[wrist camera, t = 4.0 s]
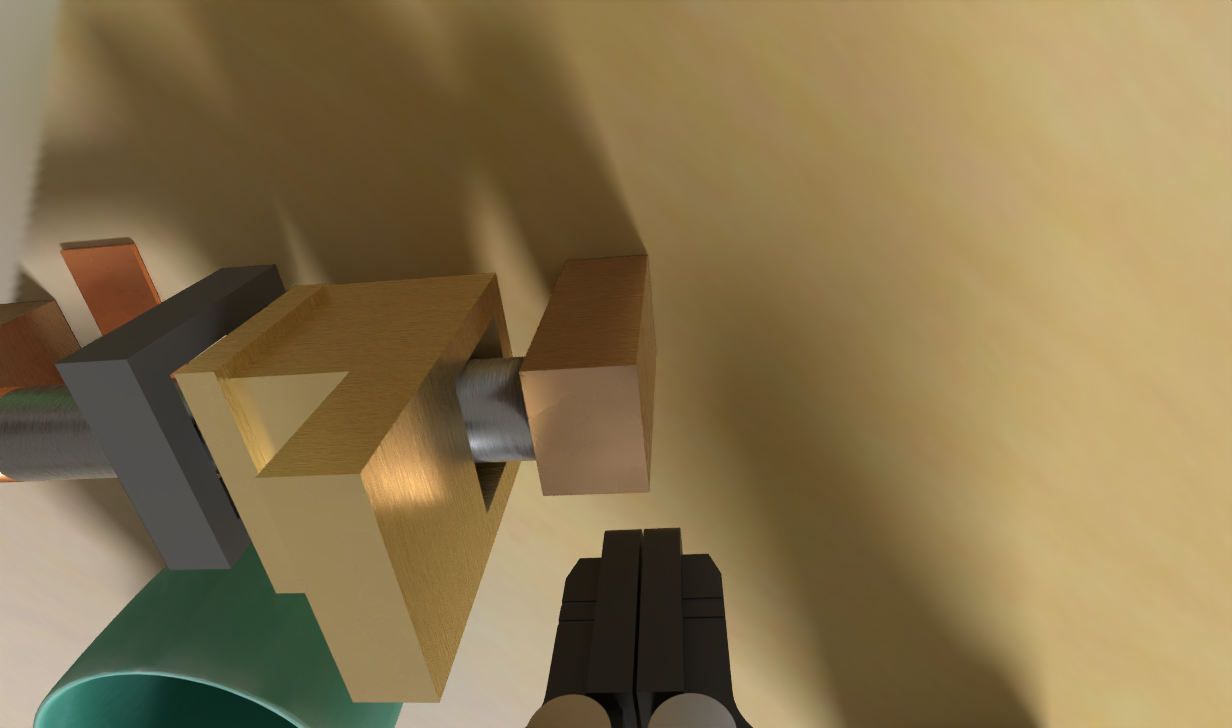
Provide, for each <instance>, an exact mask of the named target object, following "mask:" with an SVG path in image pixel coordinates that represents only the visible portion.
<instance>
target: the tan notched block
mask: <svg viewBox="0 0 1232 728" xmlns="http://www.w3.org/2000/svg"><path fill="white" fill-rule="evenodd" d="M510 357H513V356H512V351H511V345H510V340H509V335H508V330H507V325H506V320H505V315H504V310H503V305H502V300H501V295H500V290H499V285H498V280H497V275H496V273H483V274H470V275H457V276H443V277H430V278H417V279H403V280H390V281H377V282H364V283H350V284H337V285H326V284H313V285H300V286H294V287H293V288H291V289H290V290H289V291H287V292H286V293H285V294H283V295H282V296H280V297H279V298H278V299H276V300H275V301H274V302H272V303H271V304H269V305H268V306H267V307H265V308H264V309H263V310H261V311H260V312H258V313H257V314H256V315H254V316H253V317H252V318H250V319H249V320H247V321H246V322H245V323H243V324H242V325H241V326H239V327H238V328H237V329H235V330H234V331H232V332H231V333H230V334H228V335H227V336H226V337H224V338H223V339H221V340H220V341H219V342H217V343H216V344H215V345H213V346H212V347H210V348H209V349H208V350H206V351H205V352H204V353H202V354H201V355H199V356H198V357H197V358H195V359H194V360H193V361H191V362H190V363H189V364H187V365H186V366H184V367H183V368H182V369H180V370H179V371H178V372H176V373H175V374H174V376H175V378H176V380H177V382H178V384H179V387H180V389H181V391H182V393H183V395H184V397H185V399H186V401H187V404H188V406H189V408H190V410H191V412H192V414H193V416H194V419H195V421H196V423H197V425H198V427H199V429H200V431H201V434H202V436H203V438H204V440H205V442H206V444H207V446H208V449H209V451H210V453H211V455H212V457H213V459H214V461H215V463H216V466H217V468H218V470H219V472H220V474H221V476H222V478H223V481H224V483H225V485H226V487H227V489H228V491H229V493H230V496H231V498H232V500H233V502H234V504H235V506H236V508H237V510H238V513H239V515H240V517H241V519H242V521H243V523H244V525H245V528H246V530H247V532H248V534H249V536H250V538H251V540H252V543H253V545H254V547H255V549H256V551H257V553H258V555H259V558H260V560H261V562H262V564H263V566H264V568H265V570H266V572H267V575H268V577H269V579H270V581H271V583H272V585H273V587H274V590H275V592H276V594H277V593H305V594H306V597H307V599H308V601H309V603H310V606H311V608H312V610H313V612H314V615H315V617H316V619H317V622H318V624H319V626H320V628H321V631H322V633H323V635H324V637H325V640H326V642H327V644H328V646H329V649H330V651H331V653H332V656H333V658H334V660H335V662H336V665H337V667H338V669H339V671H340V674H341V676H342V678H343V681H344V683H345V685H346V687H347V690H348V692H349V694H350V696H351V699H352V701H353V702H418V703H440V700H441V697H442V694H443V691H444V688H445V685H446V682H447V679H448V676H449V673H450V670H451V667H452V665H453V662H454V659H455V656H456V653H457V650H458V647H459V644H460V641H461V638H462V635H463V632H464V629H465V626H466V623H467V620H468V617H469V614H470V611H471V608H472V605H473V602H474V599H475V596H476V594H477V591H478V588H479V585H480V582H481V579H482V576H483V573H484V570H485V567H486V564H487V561H488V558H489V555H490V552H491V549H492V546H493V543H494V540H495V537H496V534H497V531H498V528H499V525H500V522H501V520H502V517H503V514H504V511H505V508H506V505H507V502H508V499H509V496H510V493H511V490H512V487H513V484H514V481H515V478H516V475H517V472H518V469H519V466H520V463H521V461H510V462H485V463H474V459H473V455H472V451H471V447H470V443H469V439H468V435H467V431H466V427H465V423H464V419H463V415H462V411H461V407H460V403H459V399H458V395H457V391H456V387H455V381H456V380H457V378H458V376H459V375H460V373H461V371H462V369H463V368H464V366H465V364H466V363H467V361H468V360H477V359H493V358H510Z"/></svg>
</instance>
